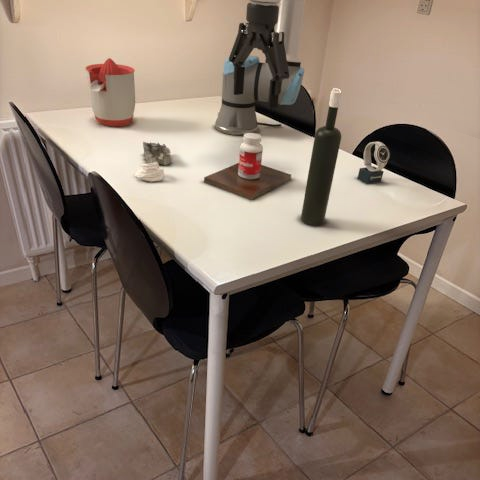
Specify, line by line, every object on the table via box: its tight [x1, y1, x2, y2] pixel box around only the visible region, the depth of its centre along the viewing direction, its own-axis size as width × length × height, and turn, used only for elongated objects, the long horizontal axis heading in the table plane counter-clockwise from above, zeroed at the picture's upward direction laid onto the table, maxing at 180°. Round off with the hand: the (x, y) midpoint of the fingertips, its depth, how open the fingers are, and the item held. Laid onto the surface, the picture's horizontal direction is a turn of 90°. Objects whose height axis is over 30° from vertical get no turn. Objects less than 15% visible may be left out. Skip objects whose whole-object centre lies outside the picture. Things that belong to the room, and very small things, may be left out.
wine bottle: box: [300, 87, 343, 227], centre depth 108 cm, size 6×6×30 cm
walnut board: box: [203, 162, 292, 201], centre depth 134 cm, size 20×16×2 cm
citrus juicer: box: [85, 57, 136, 128], centre depth 160 cm, size 16×17×20 cm
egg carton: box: [142, 141, 172, 166], centre depth 141 cm, size 11×8×4 cm
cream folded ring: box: [134, 162, 165, 183], centre depth 129 cm, size 8×7×5 cm
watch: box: [356, 141, 391, 185], centre depth 139 cm, size 6×8×11 cm
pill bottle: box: [238, 132, 264, 180], centre depth 130 cm, size 6×6×11 cm
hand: (254, 100), depth 123 cm, fingers open, 13 cm apart
